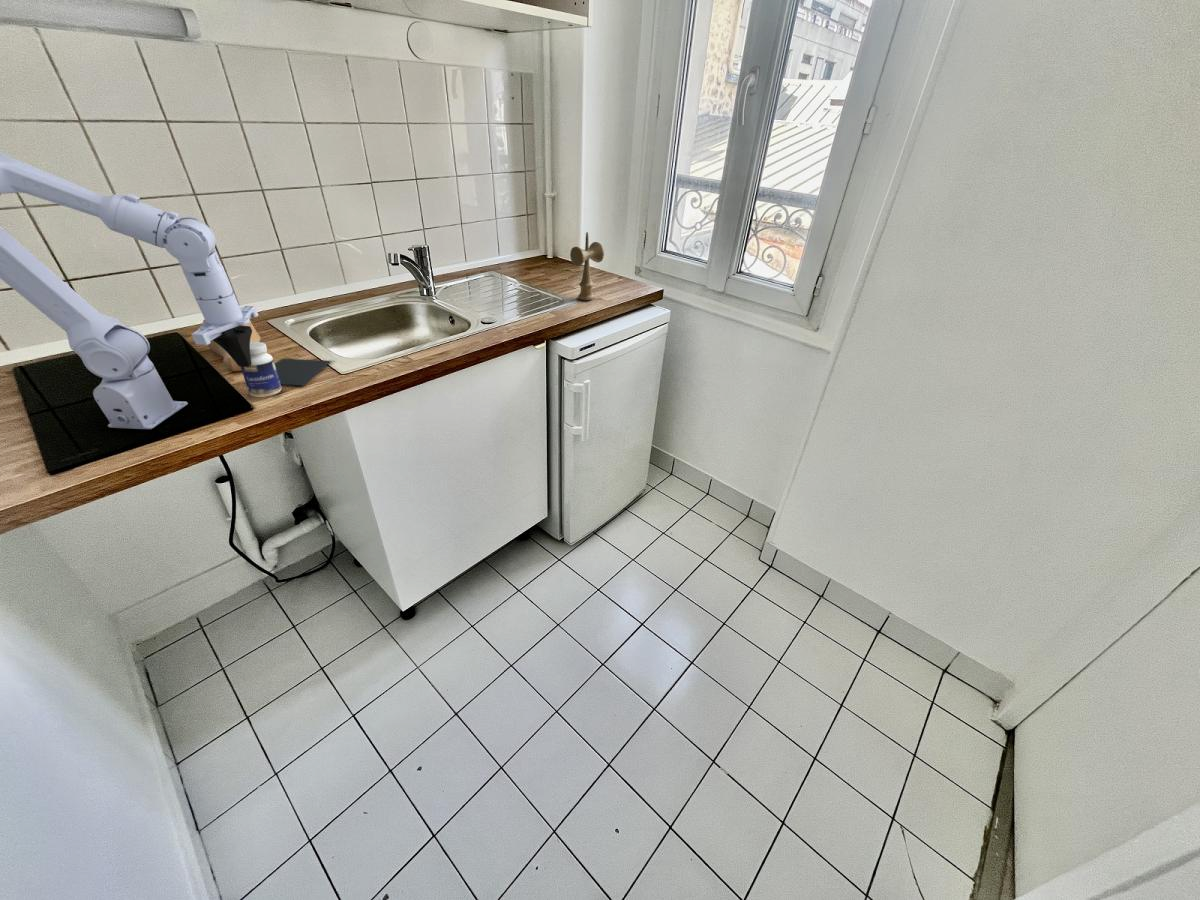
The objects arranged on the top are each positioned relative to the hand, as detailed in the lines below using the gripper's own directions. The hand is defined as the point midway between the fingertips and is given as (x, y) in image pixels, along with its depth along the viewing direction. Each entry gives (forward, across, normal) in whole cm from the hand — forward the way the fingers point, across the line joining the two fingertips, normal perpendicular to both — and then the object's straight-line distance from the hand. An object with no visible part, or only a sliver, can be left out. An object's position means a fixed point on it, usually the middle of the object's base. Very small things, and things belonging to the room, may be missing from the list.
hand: (245, 365), depth 93 cm
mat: (+8, +12, 0) cm, 14 cm away
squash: (+8, +19, +16) cm, 26 cm away
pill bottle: (+7, +2, 0) cm, 8 cm away
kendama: (+8, +71, -62) cm, 94 cm away
